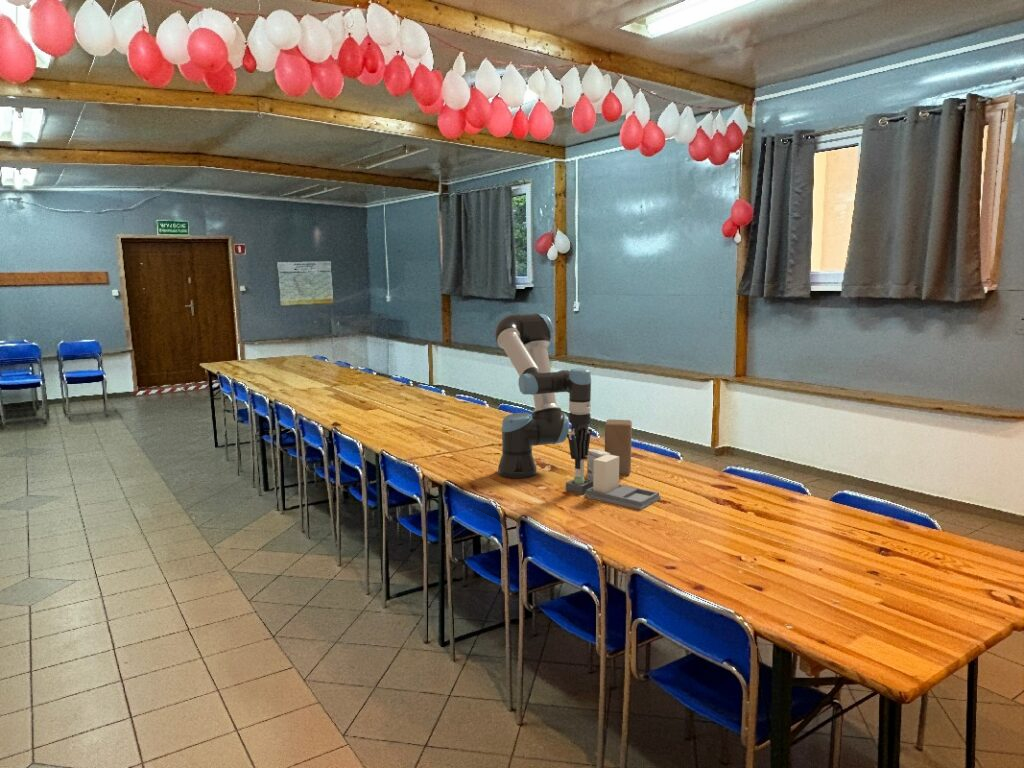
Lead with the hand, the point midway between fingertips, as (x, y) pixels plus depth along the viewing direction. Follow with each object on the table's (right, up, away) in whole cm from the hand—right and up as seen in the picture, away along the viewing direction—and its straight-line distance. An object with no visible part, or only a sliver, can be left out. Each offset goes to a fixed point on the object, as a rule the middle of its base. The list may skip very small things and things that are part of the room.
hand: (579, 476), depth 242 cm
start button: (0, -4, +1) cm, 4 cm away
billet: (+9, -4, -4) cm, 11 cm away
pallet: (+14, -6, -8) cm, 17 cm away
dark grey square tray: (0, -5, +1) cm, 5 cm away
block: (+18, -1, +24) cm, 29 cm away
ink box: (+8, -4, +11) cm, 14 cm away
